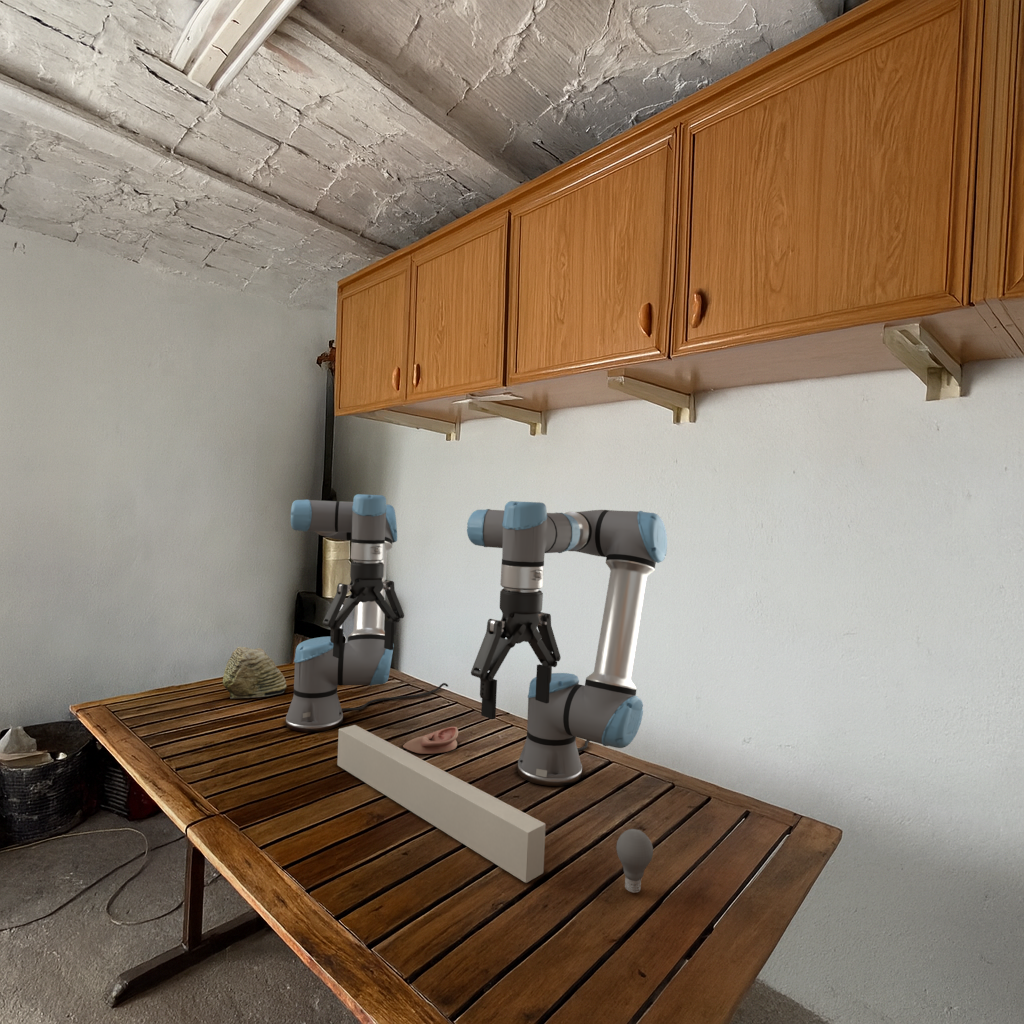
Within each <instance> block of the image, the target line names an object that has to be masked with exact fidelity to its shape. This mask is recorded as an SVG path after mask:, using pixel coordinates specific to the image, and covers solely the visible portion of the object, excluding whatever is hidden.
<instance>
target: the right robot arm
mask: <svg viewBox="0 0 1024 1024" xmlns="http://www.w3.org/2000/svg"><path fill="white" fill-rule="evenodd" d="M466 525H467V527H466V534H467V537H468V539H469V542H471V544H473V545H475V546H479V547H484V548H496V549H501V551H502V553H501V554H502V556H501V566H500V586H501V587H502V589H501V590H500V591H499V609H500V611H501V613H502V615H501V619H499V620H498V619H493V618H489V619H488V620H487V623H486V631H485V633H484V637H483V639H482V642H481V644H480V647H479V650H478V652H477V655H476V657H475V660H474V662H473V665H472V668H471V670H470V675H471V676H472V677H475V678H478V679H479V680H480V683H479V697H480V699H481V710H480V716H481V717H484V718H487V719H489V720H496V715H497V690H498V680H497V679H494V678H495V676H496V675H497V673H498V672H499V670H500V668H501V666H502V664H503V663H504V661H505V659H506V658H507V655H508V654H509V652H510V651H511V649H512V648H514V647H515V646H516V645H517V644H518V645H519V644H521V643H528V645H529V646H530V648H531V650H532V651H533V653H534V655H535V656H536V658H537V660H538V661H539V662H540V663H539V664H536V674H535V677H533V678H532V679H531V680H530V682H529V687H528V694H527V722H526V723H527V725H526V739H525V742H524V745H523V747H522V750H521V752H520V755H519V758H518V760H517V773H518V775H519V776H520V777H521V778H523V779H524V780H525V781H527V782H530V783H532V784H536V785H539V786H545V787H546V786H547V787H564V786H570V785H572V784H576V783H577V782H578V781H579V780H581V779H582V775H583V765H582V762H581V758H580V754H579V752H582V751H585V750H586V749H587V748H588V746H589V743H590V742H593V743H597V744H600V745H602V746H604V747H611V748H616V749H624V748H626V747H628V746H629V745H630V744H631V743H632V742H633V740H634V739H635V738H636V736H637V734H638V732H639V729H640V726H641V723H642V720H643V716H644V708H643V707H644V704H643V700H642V699H641V698H640V697H639V696H637V689H638V688H637V686H636V685H635V683H634V681H633V680H632V676H633V670H634V663H635V657H636V652H637V651H636V650H637V644H638V639H639V632H640V625H641V618H642V612H643V605H644V598H645V591H646V586H647V579H648V577H649V576H650V575H651V574H652V573H654V572H655V569H656V563H657V564H659V563H663V561H665V559H666V556H667V554H668V553H667V552H668V534H667V529H666V527H665V526H666V525H665V523H664V521H663V519H662V517H661V516H660V515H658V513H654V512H649V511H643V510H639V511H635V510H613V509H612V510H610V509H591V510H583V511H567V512H547V505H546V504H545V503H544V502H540V501H539V502H538V501H537V502H536V501H514V500H509V501H508V502H507V503H506V504H505V505H504V510H503V509H502V510H501V509H491V508H486V509H476V510H475V511H473V512H471V514H470V515H469V517H468V520H467V524H466ZM564 552H577V553H582V554H586V555H589V556H595V557H602V558H605V564H606V566H607V567H608V569H609V570H610V572H609V578H608V585H607V591H606V595H605V596H606V597H605V602H604V608H603V614H602V621H601V626H600V633H599V637H598V638H599V639H598V645H597V650H596V651H597V652H596V657H595V663H594V669H593V671H592V673H590V674H589V675H587V677H585V681H584V685H583V684H580V678H579V677H578V675H576V674H574V673H568V672H553V668H556V667H557V666H558V662H560V661H561V657H562V656H561V653H560V650H559V647H558V643H557V640H556V637H555V634H554V630H553V627H552V616H551V613H548V612H544V611H543V601H544V600H543V598H544V594H543V592H542V590H541V589H542V588H543V587H544V571H545V569H544V566H545V554H556V553H557V554H563V553H564ZM542 611H543V612H542ZM552 672H553V673H552ZM577 738H578V739H581V740H584V745H583V746H581V747H579V748H578V746H577V742H576V741H577V740H576V739H577Z"/></svg>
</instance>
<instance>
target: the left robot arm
mask: <svg viewBox="0 0 1024 1024" xmlns="http://www.w3.org/2000/svg"><path fill="white" fill-rule="evenodd" d="M290 526H291V528H292V530H293V531H299V532H315V533H316V534H317V535H319V536H322V537H325V538H329V539H333V540H339V541H349V542H350V541H351V545H350V559H351V560H352V561H351V563H350V567H349V568H350V569H349V570H350V571H349V577H350V582H349V584H347V583H343V582H342V583H341V582H339V583H337V585H336V587H337V588H336V592H335V595H334V597H333V599H332V602H331V603H330V606H329V608H328V610H327V612H326V614H325V616H324V618H323V620H322V626H324V627H326V628H327V627H328V628H330V636H320V637H314V638H310V639H306V640H303V641H302V642H299V643H298V645H296V648H295V655H294V660H293V663H294V674H293V675H294V680H293V695H292V696H293V697H292V699H291V702H290V704H289V708H288V711H287V713H286V715H285V726H286V728H287V729H289V730H291V731H294V732H295V731H296V732H301V733H316V732H325V731H329V730H332V729H335V728H337V727H339V726H340V725H342V723H343V722H344V714H343V712H346V711H349V712H350V711H360V710H363V709H365V708H366V707H367V706H368V705H370V704H372V703H377V702H382V701H394V700H402V699H412V698H420V697H424V696H427V695H430V694H433V693H435V692H438V691H439V690H440V689H441V688H442V687H443V686H445V687H449V684H447V683H446V682H443V683H441V684H440V685H438V687H436V688H434V689H432V690H429V691H427V692H423V693H417V694H412V695H411V694H410V695H401V696H391V697H381V698H375V699H370V700H369V701H367V702H366V703H364V704H363V705H361V706H359V707H343V708H342V706H341V702H340V699H339V695H338V686H370V687H372V686H377V685H379V686H381V685H384V684H386V683H387V682H388V681H389V678H390V672H391V665H392V660H393V652H394V647H395V643H394V638H395V635H397V623H400V621H401V619H404V618H405V613H404V611H403V608H402V606H401V605H402V604H401V603H400V600H399V597H398V595H397V591H396V589H395V581H393V580H389V579H387V560H388V557H387V556H388V553H389V551H390V550H392V548H393V543H397V541H398V527H397V526H398V525H397V516H396V510H395V507H394V506H393V505H392V504H388V503H387V498H386V496H385V495H383V494H364V493H358V494H354V496H353V501H343V500H342V501H339V500H338V501H337V500H316V499H307V498H306V499H296V500H294V501H293V502H292V503H291V507H290ZM349 593H350V594H349ZM347 594H349V596H348V597H347ZM386 597H387V601H388V602H387V601H386ZM345 600H346V601H345ZM388 603H389V604H388ZM353 610H354V617H353V630H352V632H351V633H350V634H348V636H347V642H344V629H343V628H341V627H342V625H343V624H344V623H345V621H346V620H347V619H348V617H349V616H350V614H351V613H352V612H353ZM385 617H386V618H387V620H385Z"/></svg>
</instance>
